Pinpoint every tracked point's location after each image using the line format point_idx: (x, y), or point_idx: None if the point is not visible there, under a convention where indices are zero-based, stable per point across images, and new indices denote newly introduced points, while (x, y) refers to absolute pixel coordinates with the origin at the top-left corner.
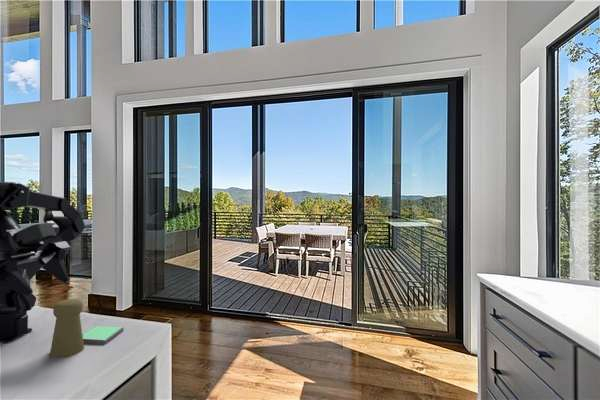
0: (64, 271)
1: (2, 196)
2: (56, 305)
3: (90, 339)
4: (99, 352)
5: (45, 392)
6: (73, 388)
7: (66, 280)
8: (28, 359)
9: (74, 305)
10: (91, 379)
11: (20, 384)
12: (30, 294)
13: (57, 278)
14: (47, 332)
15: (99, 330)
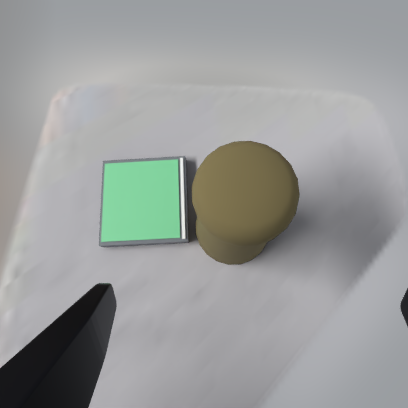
0: (56, 342)
1: None
2: (291, 207)
3: (183, 197)
4: None
5: (385, 141)
6: (359, 103)
7: (111, 294)
8: (290, 287)
9: (263, 144)
10: (325, 93)
11: (379, 210)
12: (402, 301)
13: (94, 385)
14: (136, 381)
15: (129, 210)
